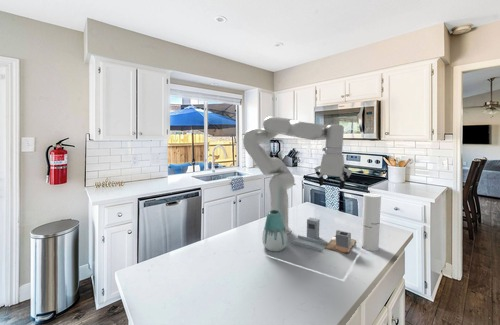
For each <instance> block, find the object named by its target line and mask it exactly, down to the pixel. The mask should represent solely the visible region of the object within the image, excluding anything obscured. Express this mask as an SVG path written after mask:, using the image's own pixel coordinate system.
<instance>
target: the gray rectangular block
mask: <svg viewBox="0 0 500 325" xmlns="http://www.w3.org/2000/svg"><path fill="white" fill-rule="evenodd" d="M306 237H309V238H313V239H317V240H319V238H320V218H314V217H309V218H307V219H306Z"/></svg>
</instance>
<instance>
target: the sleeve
mask: <svg viewBox="0 0 500 325" xmlns="http://www.w3.org/2000/svg"><path fill="white" fill-rule="evenodd" d="M335 235H336V249H337V250H341V251H345V252H348V251H349V249H350V246H351V239H352V233H351V232H346V231H342V230H340V231H339V232H338V233H337V234H336V233H335ZM349 252H350V251H349Z"/></svg>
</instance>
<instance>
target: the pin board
mask: <svg viewBox="0 0 500 325" xmlns="http://www.w3.org/2000/svg"><path fill="white" fill-rule="evenodd" d="M339 231H341V230H340V229H336V230H335V235H334V236H332V237H331V239H330V240H329V242H327V245H326V246H325V248H324V249H326V250H328V251H329V250H330V251H332V252H333V251H334V252H336V253H337V252H338V253H342V254H345V255H348V254H349V253H350V251H351V250H352V248H353V247H354V245H355V244H356V243H357V240H356V239H353V238H351V246H350V249H349V251H348V252H345V251H341V250H337V249H336V234H337V233H338V232H339Z"/></svg>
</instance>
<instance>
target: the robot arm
mask: <svg viewBox="0 0 500 325" xmlns="http://www.w3.org/2000/svg"><path fill="white" fill-rule="evenodd" d="M262 126H263V127H262V128H250V129H248V130H246V131H245V133H244V135H243V139H242V140H243V141H242V142H243V148H244V149H245V151H246V153H247V154H248V155H249V157H250V158H251V159H252V161H253V162H254V164H255V165H256V167H258V169H259V170H260V172H261V174H263V175H264V176H267V177H268V176H272V175H273V176H272V177H271V178H270V180H269V183H268V186H269V187H268V188H269V194H270V195H269V196H270V211H271V210H278V211H279V212H280V213H281V215H282V217H283V221H284V225H285V228H286V233H287V235H289V234H291V233H292V229H291V228H290V227H289V194H288V190H289V189H291V188H292V187H293V186H294V185H295V182H296V181H295V177H294V175H293V173H292V172H291V171H290V169H289V168H288V167H287V165H286V164H285V162H284V161H283V160H282V159H280V158H279V157H274V156H273V157H271V156H270V155H269V154H268V152H267V151H266V149H265V148H263V146H261V145H260V144H262V145H263V144H266V143H268V142H270V141H271V140H272V139H274V138H275V137H276V136H277V135H283V136H288V137H294V138H299V139H300V138H301V139H305V140H310V141H321V140H325V147H323V148H322V152H324V153H323V154H322V157H321V162H320V165H318V166H316V167H314V172H315V174H316V175H317V177H318V184H319V187H322V186H323V185H324V176H330V177H338V178H339V179H340V181H339V189H340V190H342V189H344V188H345V186H346V185H345V183H346V180H347V179H348V178H350V176H351V175H352V171H351V170H349V169H348V168H346V167H345V158H344V154H343V145H344V134H345V133H344V131H345V130H344V129H345V128H344V126H343V125H342V124H324V123H322V124H321V123H313V122H306V121H299V120H296V119H294V118H286V117H278V116H268V117H266V118H264V120H263V122H262ZM345 173H346V175H344V174H345Z"/></svg>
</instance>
